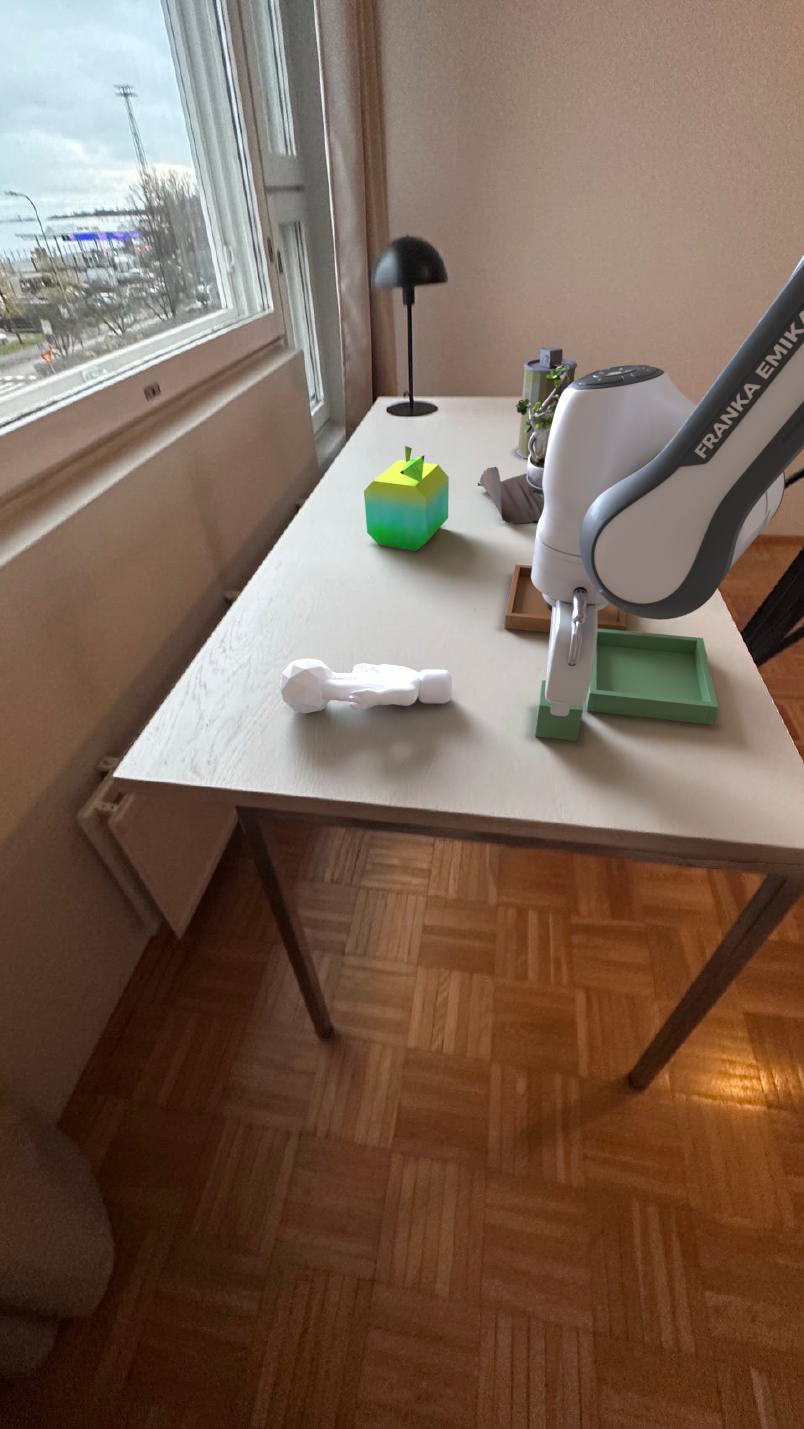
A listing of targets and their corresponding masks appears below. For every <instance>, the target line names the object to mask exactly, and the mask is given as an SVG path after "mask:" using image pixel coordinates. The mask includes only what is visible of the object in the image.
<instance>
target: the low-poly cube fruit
mask: <svg viewBox="0 0 804 1429" xmlns="http://www.w3.org/2000/svg"><path fill="white" fill-rule="evenodd" d="M412 450H413V448H412V447H409V446H407V445H404V454H405V458H404V459H398V460H397V461H396V462H394V463H393V464H392V465H391V466H390V467H388V468H387V469H386V470H384V471H383V472H382V473H381V474H380V475H378V476H377V477H376V478H375V479H373V480H372V481H371V483H370V484H369V485H368V486H367V487H366V488H365V489H364V490H363V496H364V508H365V509H364V510H365V521H366V522H365V523H366V533H367V534H368V536H370V537H371V538H372V540H373V541H374V542H375V543H376V544H377V545H379V546H385V547H392V548H398V549H403V550H409V551H413V552H414V551H415V552H417V551H418V550H419V549H420V548H422V547H423V546H424V545H425V544H426V543H427V542H428V541H429V540H430V539H431V538H432V537H433V536H434V535H435V534H436V533H437V532H438V530H439V529H440V528H441V527H442V526H443V525H444V523H446V521H447V520H448V519H449V489H450V488H449V486H450V485H449V483H450V482H449V481H450V479H449V475H448V474H447V473H446V471H444V470H443V468H442V467H441V466H440V464H437V463H428V462H425V455H421V456H418V457H414V458H411V456H412Z"/></svg>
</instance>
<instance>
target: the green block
mask: <svg viewBox="0 0 804 1429" xmlns="http://www.w3.org/2000/svg"><path fill="white" fill-rule="evenodd" d="M545 686H546V679H542V680H541V684H540V689H539V698H538V704H537V711H536V712H537V713H536V720H535V721H536V722H535V733H534V736H535V737H539V738H546V739H553V740H562V741H571V742H577V740H578V736H579V732H580V727H581V721H582V716H583V711H584V704H583V705H582V706H570V709H569V714H568V715H567V716H557V715H553V714H551V712H550V708H551V703H549V702H547V701H546V698H545Z"/></svg>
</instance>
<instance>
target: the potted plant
mask: <svg viewBox="0 0 804 1429" xmlns="http://www.w3.org/2000/svg"><path fill="white" fill-rule="evenodd" d="M556 369H557V370H556V372H555V373H554V372H553V371H551V373H550V375H551V376H550V375H547V379H548V380H553V381H554V384H555V385H554V386H555V389H554V391H553V392H552V393H551V395H550V396H549V397H548V399H547V400H545V402H544V403H543V405H542V406H541V407H540V405H541V403H540V402H537V403H536V404H535V406H534V407H533V408H532V404H529V406H526V405H527V404H528V403H529V400H528V399H525V401H523V400H522V399H520V400H519V401H518V402H517V403H516V404H515V405H514V407H515V408H516V412H517V414H520V415H521V414H522V415H525V414H526V413H527V408H528V409H529V418H527V419H526V421H525V422H526V424H527V425H528V426H527V427H526V428H525V430H524V431H525V432H526V433H527V432H529V431H531V432H532V434H533V435H532V436H531V438H530V440H529V444H528V450H529V452H530V455H529V458H528V459H527V466H526V472H527V473H523V474H519V475H516V476H512V477H509V478H506V479H504V480H501V477H500V476H501V475H500V471H499V468H498V467H497V466H492V467H487V468H486V470H484V471H483V472H482V474H481V476H480V479H479V482H477V487H483V488H484V490H485V491H486V493H487V494H488V495H489V497H490V498H491V500H492V501H493V503H494V505H495V507H496V509H497V511H498V512H499V514H500V516H501V519H502V521H503V522H505V523H507V524H509V523H512V524H516V525H518V524H527V523H528V524H529V523H533V522H539V519H540V517H541V515H542V512H543V509H544V493H543V487H542V481H543V472H544V465H545V458H546V452H547V446H548V441H549V435H550V430H551V426H552V422H551V420H552V421H553V418H554V415H553V414H554V412H555V410H556V407H557V404H556V401H555V402H554V404H553V405H550V406H549V407H548V410H546V411H544V410H543V408H545V407H546V404H547V403H548V402H549V400H550V399H556V398H557V399H558V400H559V398H560V397H559V395H556V396H554V393H555V392H556V390H559V387H560V385H561V383H562V382H563V380H564V378H566V384H567V383H569V377H568V375H567V371H568V370H569V366H567V367H565V365H564V364H563V365H562V366H561V367H557V368H556ZM558 369H559V370H558ZM562 373H564V374H562ZM559 375H560V376H559ZM539 407H540V409H539ZM535 408H536V410H535ZM537 409H538V410H537ZM533 411H534V412H535V414H534V415H533ZM541 412H543V413H541ZM551 412H552V414H551ZM540 413H541V414H540ZM548 413H550V414H548ZM544 414H545V416H546V417H542V416H543V415H544ZM549 415H550V416H549ZM550 417H551V419H550V420H548V419H549V418H550ZM536 419H537V421H536ZM542 426H544V427H542ZM545 427H546V428H545ZM533 443H534V450H533V449H532V445H533Z"/></svg>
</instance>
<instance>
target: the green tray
mask: <svg viewBox="0 0 804 1429" xmlns="http://www.w3.org/2000/svg"><path fill="white" fill-rule="evenodd" d="M710 667H711V666H710V664H709V659H708V654H707V651H706V646H705V641H704V637H696V636H687V635H686V636H685V635H674V634H665V633H654V632H644V631H643V632H642V631H641V632H640V631H631V630H625V631H621V630H609V629H598V628H597V644H596V652H595V658H594V663H593V669H592V674H591V680H590V685H589V690H588V695H587V699H586V701H585V710H586V711H587V712H596V713H597V712H598V713H604V714H605V713H606V714H614V715H622V716H632V717H640V718H647V719H648V718H649V719H656V720H657V719H658V720H666V721H673V722H682V723H683V722H684V723H692V724H701V725H709V726H712V725H713V724H714V720H715V718H716V715H717V713H718V710H719V703H718V699H717V694H716V689H715V686H714V681H713V678H712V677H713V676H712V672H711V668H710Z"/></svg>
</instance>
